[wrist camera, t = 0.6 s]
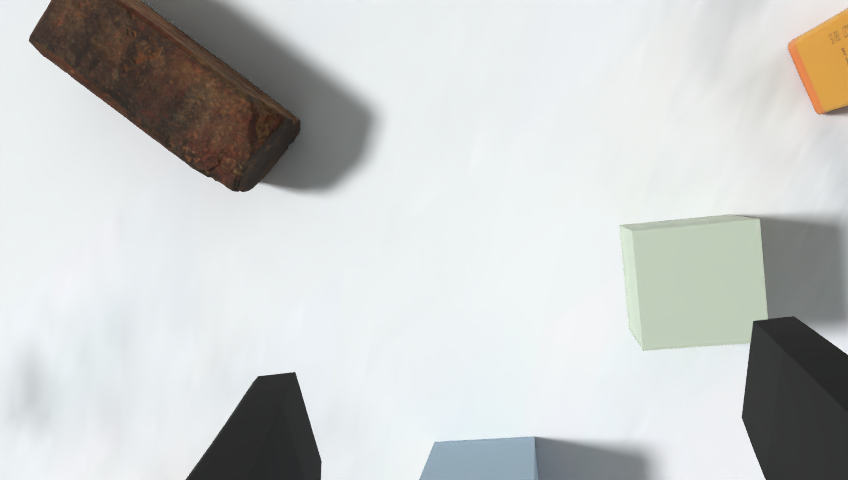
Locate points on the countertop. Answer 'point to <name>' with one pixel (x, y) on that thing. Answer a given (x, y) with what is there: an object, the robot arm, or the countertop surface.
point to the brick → (168, 87)
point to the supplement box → (824, 62)
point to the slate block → (483, 460)
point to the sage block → (693, 281)
